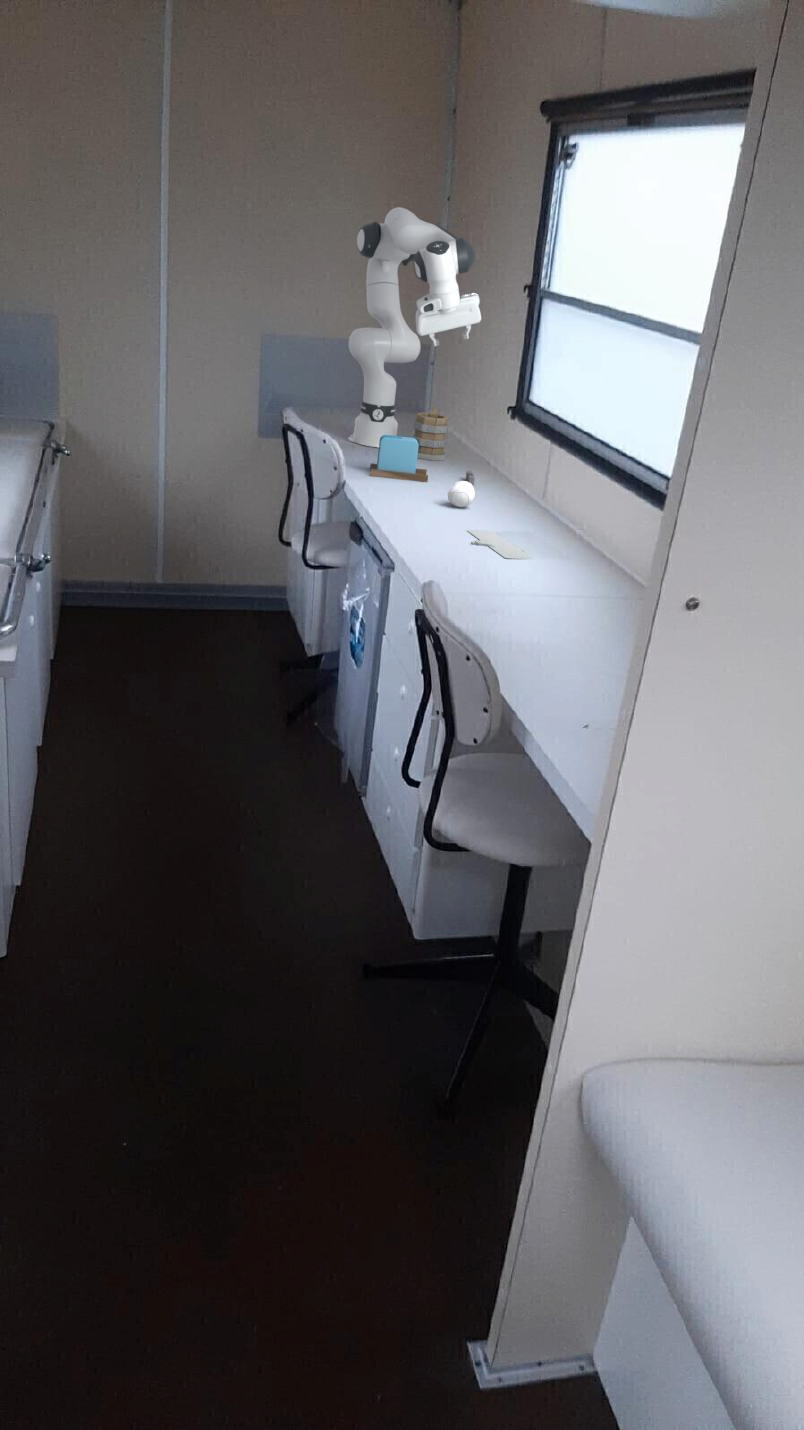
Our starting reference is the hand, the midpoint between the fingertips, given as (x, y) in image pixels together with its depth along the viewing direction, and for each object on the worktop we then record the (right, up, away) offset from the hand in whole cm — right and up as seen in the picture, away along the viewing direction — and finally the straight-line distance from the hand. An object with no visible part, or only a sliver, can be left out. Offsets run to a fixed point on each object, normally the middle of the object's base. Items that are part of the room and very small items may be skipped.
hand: (451, 342), depth 353 cm
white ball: (+1, -56, -22) cm, 60 cm away
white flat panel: (+14, -72, -52) cm, 90 cm away
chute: (-9, -41, +7) cm, 43 cm away
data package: (-18, -41, +6) cm, 45 cm away
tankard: (-6, -26, +42) cm, 50 cm away
